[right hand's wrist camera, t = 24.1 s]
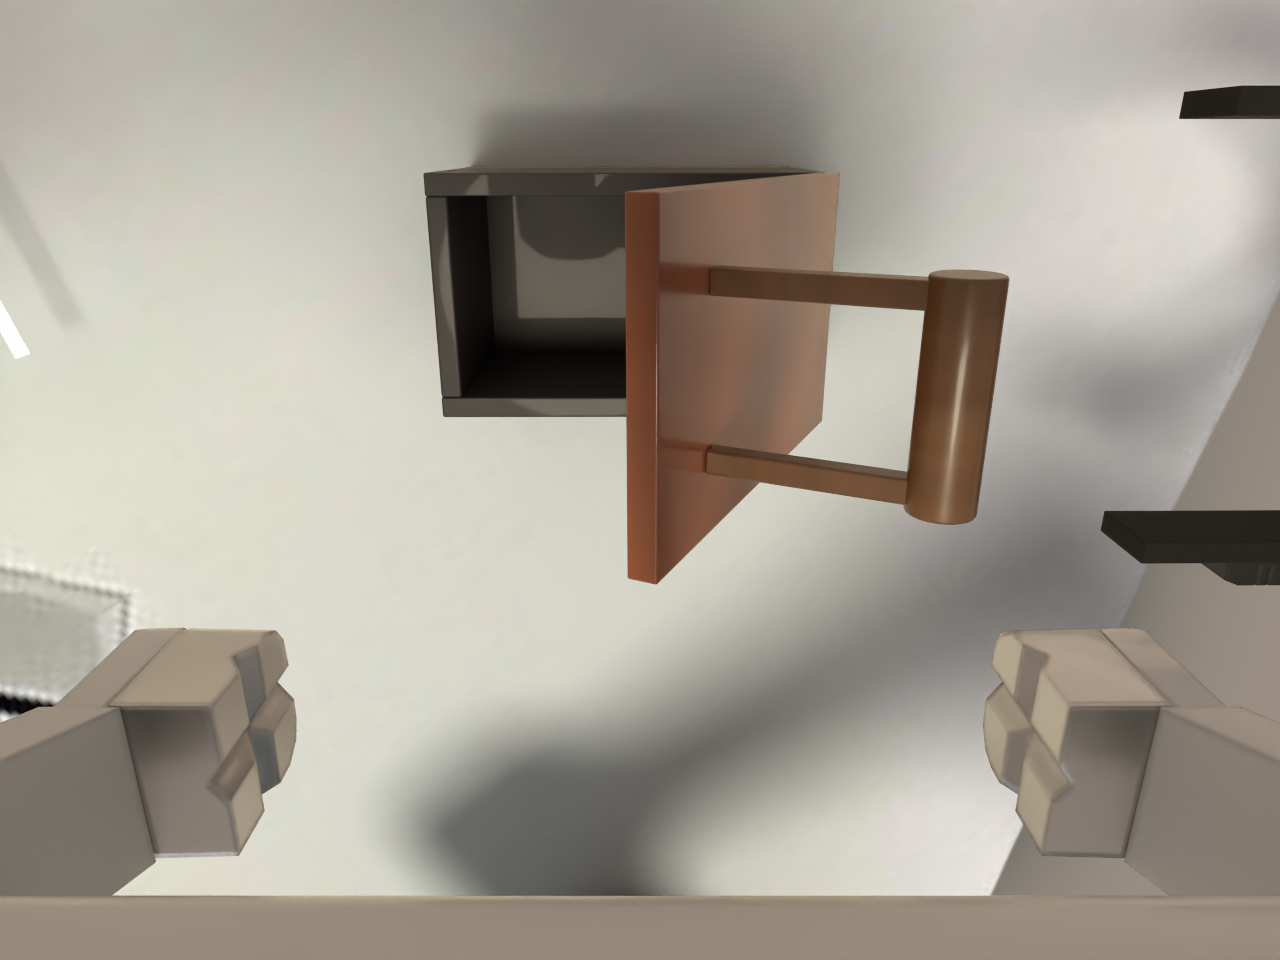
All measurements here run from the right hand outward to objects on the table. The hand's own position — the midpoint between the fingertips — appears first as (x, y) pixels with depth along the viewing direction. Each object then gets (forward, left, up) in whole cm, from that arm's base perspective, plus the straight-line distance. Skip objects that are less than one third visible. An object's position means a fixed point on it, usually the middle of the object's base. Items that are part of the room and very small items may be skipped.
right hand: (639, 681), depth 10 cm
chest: (0, -1, -37) cm, 37 cm away
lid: (+1, +3, -19) cm, 20 cm away
